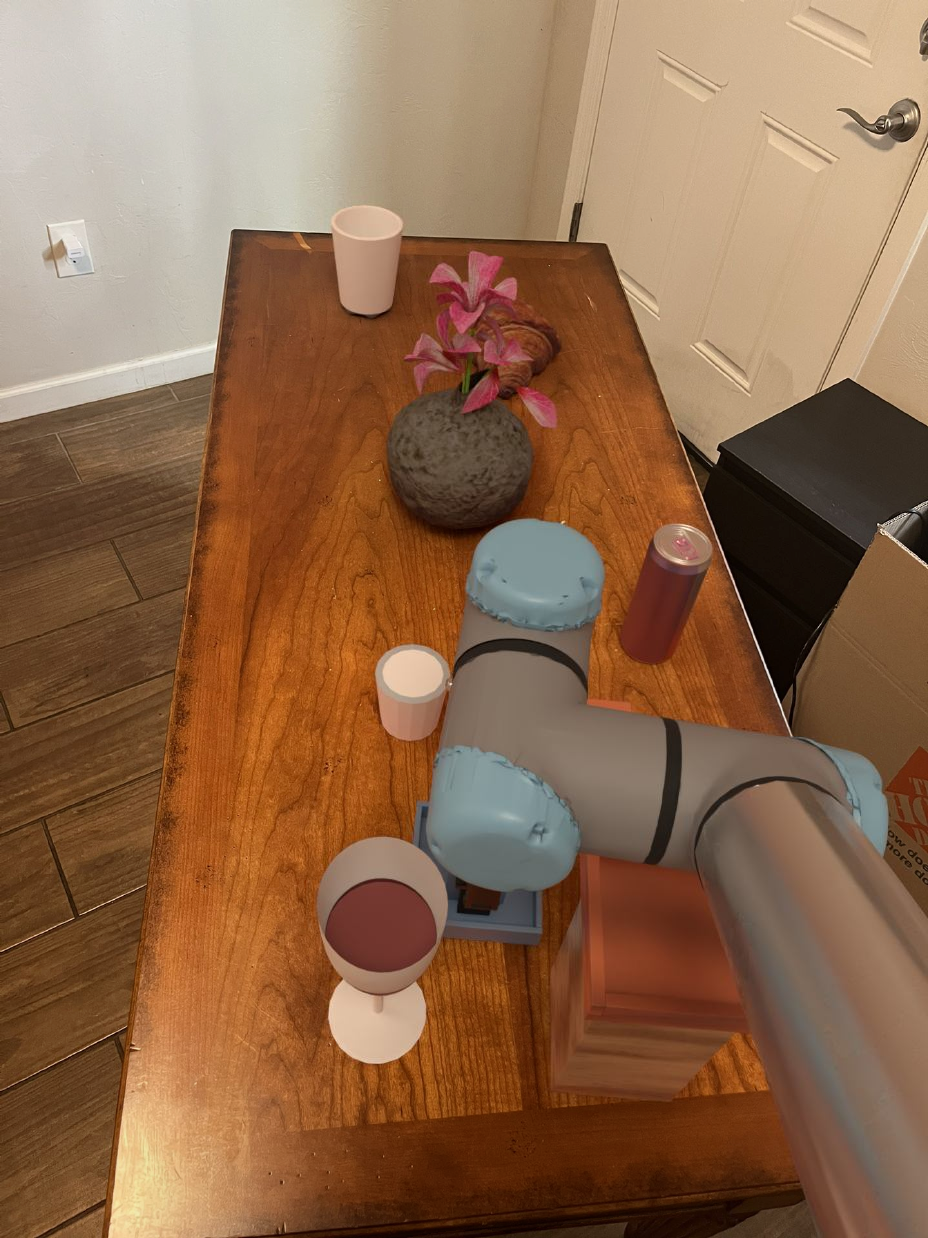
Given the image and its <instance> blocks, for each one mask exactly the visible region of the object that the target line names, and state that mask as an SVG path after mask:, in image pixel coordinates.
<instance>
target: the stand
mask: <svg viewBox="0 0 928 1238" xmlns="http://www.w3.org/2000/svg"><path fill="white" fill-rule="evenodd" d="M579 874H580V875H579V880H580V882H579V883H580V899H579V902H578V903H577V907H576V909H575V911H574V914H573V916H572V919H571V921H570V923H569V926H568V928H567V930H566V933H565V935H564V938H563V940H562V943H561V945H560V948H559V949H558V952H557V955H556V957H555V960H554V962H553V964H552V967H551V969H550V971H549V982H550V983H549V987H550V991H549V994H550V995H549V996H550V997H549V998H550V1000H549V1001H550V1010H549V1011H550V1013H549V1014H550V1093H557V1094H566V1095H567V1094H568V1095H579V1096H593V1097H605V1098H617V1099H627V1100H628V1099H629V1100H640V1101H641V1100H642V1101H651V1102H652V1101H653V1102H665V1103H671V1102H672V1101H673V1100H674V1099H675V1098H676V1097H677V1096H678V1095H679V1094H680V1093H681V1091H682V1090H683V1089H684V1088H685V1087H686V1086H687V1085H688V1084H689V1083H690V1082H691V1081H692V1080H693V1079H694V1078H695V1077H696V1076H697V1074H699V1072H700V1071H702V1069H704V1068H705V1066H706V1065H707V1064H708V1063H709V1062H710V1061H711V1059H713V1057H714V1056H715V1055H716V1054H717V1053H718V1052H719V1051H720V1050H721V1049H722V1048H723V1047H724V1046H725V1045H726V1043H728V1041H729V1040H730V1039H732V1037H733V1036H734V1035H735V1034H736V1033H737V1034H748V1035H752V1034H751V1031H750V1028H749V1025H748V1022H747V1019H746V1016H745V1013H744V1010H743V1007H742V1004H741V1001H740V997H739V994H738V991H737V988H736V985H735V982H734V979H733V976H732V973H731V970H730V967H729V964H728V961H727V958H726V955H725V952H724V949H723V946H722V943H721V940H720V937H719V934H718V931H717V928H716V925H715V922H714V919H713V916H712V912H711V909H710V906H709V903H708V900H707V897H706V894H705V891H704V890H703V888H702V885H701V882H700V879H699V876H698V874H697V873H692V872H687V871H682V870H676V869H671V868H666V867H660V866H655V865H649V864H644V863H636V862H630V861H624V860H618V859H613V858H607V857H601V856H595V855H590V854H584V853H579Z"/></svg>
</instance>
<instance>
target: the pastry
mask: <svg viewBox="0 0 928 1238" xmlns="http://www.w3.org/2000/svg"><path fill="white" fill-rule="evenodd" d="M510 302H511V304H512V306H513V308H514V309H515V311H516V313H517V315H518V317H519V321H520V323H519V322H518V321H516V320H515V319H514V318H513V317H511V316H510V315H508V314H506V313H504V312H501V311H491V312H490V313H489V314H488V315H489V316H491V317H493V318H494V319H495V320H496V321H497V323H498V325H499V327H500V328H501V330H502V333H503V335H504V346H503V347H504V348H505V347H506V345H507V343H508V342H509V340H510V339H511V338H512V337H514V338H515V339H516V341H517V342H518V344H519V346H520V347H521V350H522V352H523V353H524V354H525V355H527V356H529V357H530V358H532V359H533V360H534V361H532V360H523V361H518V362H513V363H512V364H511V365H507V366H503V365H501V366H498V373H499V382H500V387H499V391H498V394H497V396H498V397H500V398H501V399H506V400H507V399H510V397H511V395H512V394H518V392H517V390H516V386H519V387H527V388H528V386H529V385H530V383H531V381H532V376H534V375H536V374H537V373H540V372H541V371H543V370H544V369H545V367H546V365H548V364H549V363H550V362H551V360H552V358H554V357H556V356H557V355H558V354H559V353H560V352H561V351H562V349H563V343H562V339H561V336H560V333H559V332H558V330H557V327H556V326H554V324H552V322H551V321H550V320H548V319H546V318H545V317H544V316H543V314H542V313H541V311H540V310H539V309H538V308H536V307H534V306H533V305H532V304H529V303H528V302H526V301H525V300H522V299H519V298H516V299H515V301H513V300H510ZM479 330H485V331H486V332H488V333H489V334H490V335H491V336H492V338H493V339H494V341H495V343H496V344H498V343H497V339H496V335H495V333H494V331H493V329H492V327H491V326H490V324H489V323H488V321H487V320H486V319H485V317H484V318H483V319H482V320H481V321H480V323H479V324H478V325H477V326H476V328H475V335H474V340H475V341H476V343H477V344H478V346H479V347H480V348H481V349H482V351H481V352H473V353H472V356H473V358H472V363H473V364H474V365H475V366H476V367H477V369H478V371H481V370H483V369H491V367H492V366H493V365H494V364H495V363H491V362H486V361H485V360H484V346H485V343H484V342H482V341H479V340H477V339H475V336H476V334H477V332H478V331H479ZM470 331H471V329H470V327H468V328H467V329H466V330H465V333H468V334H469V335H470Z"/></svg>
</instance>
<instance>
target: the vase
mask: <svg viewBox="0 0 928 1238" xmlns="http://www.w3.org/2000/svg"><path fill="white" fill-rule="evenodd" d="M503 261H504V258H503V256H498V255H491V256H489V255H487V254H485V253H483V252H480V251H475V250H472V251H470V252H469V254H468V262H467V263H468V264H467V265H468V267H467V268H468V281H463V282H462V280H461V277H460V276H459V274H458V273H457V272H456V270H455V269H454V268H453V267H452V266H451V265H449V264H447V263H446V262H441V263H439V264H438V265H437V266H436V267H435V269H434V271H433V272H432V274H431V276H430V279H429V281H428V283H429V284H433V285H436V286H440V287H443V288H447V289H449V290H451V292H449V291H443V292H441V291H440V292H439V293H438V294H437V295H436V299H435V302H436V307H441V306H442V305H444V304H446V303H451V304H450V305H449V307H448V308H446V309H442V310H441V311H440V312H439V314H438V315H437V316H436V321H435V325H436V326H435V327H436V331H437V335H438V337H439V339H440V340H441V342H442V344H443V345H444V346H445V348H446V349H444V348H443V347H442V346H441V345H440V344H439V343H438V342H437V341H436V340H435V339H433V338H432V337H431V336H430V335H429V334H426V333H424V332H423V333H421V335H420V337H419V339H418V340H417V341H416V342H415V346H414V349H413V352H412V353H410V354H405V357H403V359H402V361H403V362H405V363H407V362H408V363H413V362H416V361H417V362H418V361H421V362H418V363H417V364H416V365H415V366H414V367H413V376H414V380H415V385H416V388H417V390H418V393H419V395H420V396H418V397H417V398H415V399H414V400H412V401H411V402H409V403H407V404H406V405H405V406H403V407H402V408H400V410H399V411H398V412H397V413H396V414H395V417H394V420H393V421H392V424H391V426H390V428H389V431H388V435H387V439H386V459H387V467H388V472H389V477H390V484H391V487H392V488H393V490H394V491H395V493H396V495H397V497H398V498H399V499H400V500H401V502H402V503H403V504H404V505H405V506H406V508H407V509H408V510H409V511H410V513H412V514H414V515H415V516H417V517H418V518H420V519H421V520H423V521H425V522H427V523H429V524H430V525H431V526H437V527H443V528H448V529H454V530H461V529H472V528H473V529H474V528H481V527H484V526H487V525H490V524H493V523H496V522H498V521H502V520H503V519H504V518H505V517H506V516H508V515H509V514H510V513H511V512H513V510H515V509H516V508H517V507H518V506H519V505H520V504H521V503H522V502H523V501H524V498H525V495H526V493H527V490H528V486H529V482H530V477H531V473H532V469H533V465H534V461H535V457H534V448H533V445H532V442H531V439H530V436H529V433H528V430H527V428H526V426H525V423H524V422H523V421H522V420H521V418H519V417H518V416H517V415H516V414H515V413H514V412H513V411H512V410H511V409H510V407H508V406H507V404H505V403H504V402H503V401H502V400H499V399H497V398H496V397H497V396H498V395H497V394H498V391H499V387H500V382H499V373H498V366H501V365H503V366H507V365H511V364H512V363H513V362H518V361H523V360H532V361H534V360H533V359H532V358H530V357H529V356H527V355H525V354H524V353H523V352H522V350H521V347H520V346H519V344H518V342H517V341H516V339H515V338H514V337H512V338H511V339H510V340H509V342H508V343H507V345H506V347H505V348H504V347H503V346H504V335H503V333H502V330H501V328H500V327H499V325H498V323H497V321H496V320H495V319H494V318H493V317H491V316H489V315H488V314H489V313H490V312H491V311H501V312H504V313H506V314H508V315H510V316H511V317H513V318H514V319H515V320H516V321H518V322H519V323H520V321H519V317H518V315H517V313H516V311H515V309H514V308H513V306H512V304H511V302H510V300H513V301H515V299H517V293H518V280H517V279H516V278H515V277H514V276H513V277H508V278H504V280H502V281H501V282H500V283H498V284H497V285H496V286H495V288H491V287H492V285H493V281H494V280H495V278H496V276H497V273H498V272H499V269H500V267H501V266H502V263H503ZM484 317H485V319H486V320H487V321H488V323H489V324H490V326H491V327H492V329H493V331H494V333H495V335H496V339H497V343H498V344H496V343H495V341H494V339H493V338H492V336H491V335H490V334H489V333H488V332H486V331H485V330H479V331H478V332H477V334H476V336H475V339H477V340H479V341H482V342H484V343H485V346H484V360H485V361H486V362H491V363H495V364H494V365H493V366H492V367H491V369H483V370H481V371H479V370H478V371H475V372H474V373H472V374H471V371H472V363H473V360H472V358H473V356H472V353H473V352H481V351H482V349H481V348H480V347H479V346H478V344H477V343H476V341H475V340H474V335H475V328H476V326H477V325H478V324H479V323H480V321H481V320H482V319H483V318H484ZM450 321H452V322H453V324H454V326H455V328H456V330H457V333H455V334H454V336H453V337H452V338H451V340H450V338H449V325H450V324H449V323H450ZM468 327H470V329H471V331H470V335H469V334H468V333H465V330H466V329H467V328H468ZM462 360H467V361H466V362H467V363H466V370H465V368H464V366H463V363H462ZM465 371H466V372H465ZM437 372H439V373H440V372H441V373H449V374H452V375H456V376H462V379H461V381H460V382H459V384H458V385H457V387H453V388H445V389H440V390H436V391H432V392H428V393H425V394H422V392H423V388H424V386H425V383H426V381H428V379H429V378H430V376H431V375H434V374H435V373H437ZM516 390H517V394H518V395H519V397H520V399H521V400H522V402H523V403H524V405H525V407H526V408H527V409H528V411H529V412H530V414H531V415H532V417H533V418H534V419H535V421H536V422H537V423H538V424H539V425H540V426H541V427H544V428H550V429H556V428H557V427H558V417H557V410H556V409H557V408H556V406H555V404H554V402H553V401H552V400H550V399H549V398H548V397H547V396H546V395H544V394H543V393H541V392H540V391H538V390H536V389H533V388H530V387H528V386H527V387H519V386H516Z"/></svg>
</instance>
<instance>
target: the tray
mask: <svg viewBox="0 0 928 1238" xmlns="http://www.w3.org/2000/svg"><path fill="white" fill-rule="evenodd" d="M428 808H429V801H425V800H416V807H415V816H414V817H415V818H414V827H413V838H412V840H413V841H412V844H413V845H414V846H416V847H417V848H419V849H420V850H422V851H423V852H424V853H425V854H426V855H427V856H428V857H429V858H430V859H431V860H432V861H433V863H434V864H435V865H436V867H437V868H438V870H439V872H440V874H441V876H442V878H443V881H444V883H445V872H446V869H445V868H444V867H443V866H442V865H441V864H440V863H439V862H438V861H437V860H436V858H435V857H434V856H433V854H432V852H431V850H430V848H429V845H428V841H427V834H426V822H427V815H428ZM457 903H458V900H448V910H447V918H446V922H445V927H444V931H443V935H442V938H445V939H456V940H467V941H479V942H489V943H490V942H491V943H501V944H514V945H525V946H535V947H537V946H539V943H540V941H541V938H542V935H543V890H538V891H532V892H531V891H528V890H524V889H514V891H512V892H506V895H505V899H504V903H503V904H500V905H499V906H498V909H497V911H494V910H491V911H490V915H489V916H485V915H474V914H462V913H457Z"/></svg>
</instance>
